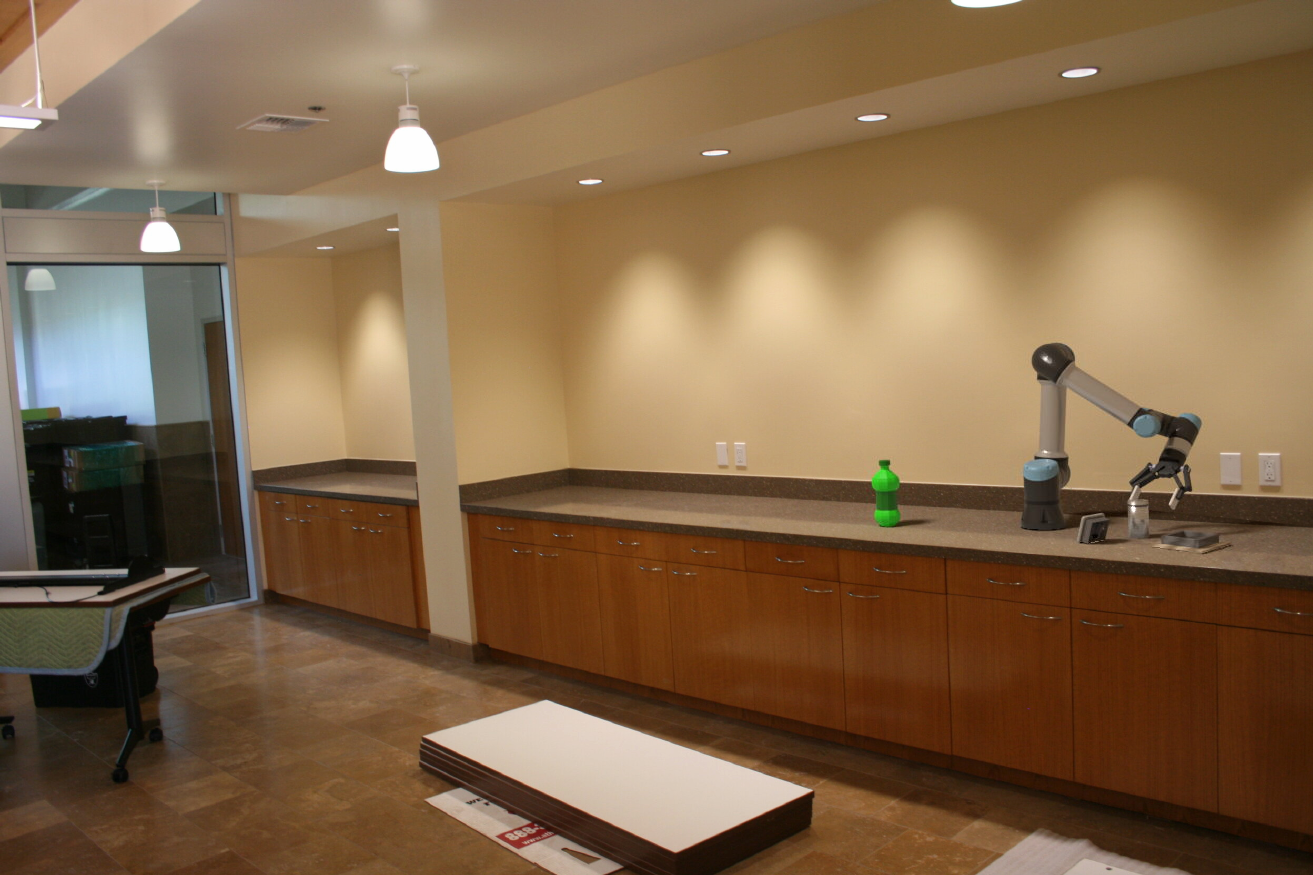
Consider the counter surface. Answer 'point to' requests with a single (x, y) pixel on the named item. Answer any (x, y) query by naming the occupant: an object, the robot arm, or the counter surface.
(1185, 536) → the collar plate
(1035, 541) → the counter surface
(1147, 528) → the steel piston
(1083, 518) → the electrical switch
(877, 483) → the plastic bottle
